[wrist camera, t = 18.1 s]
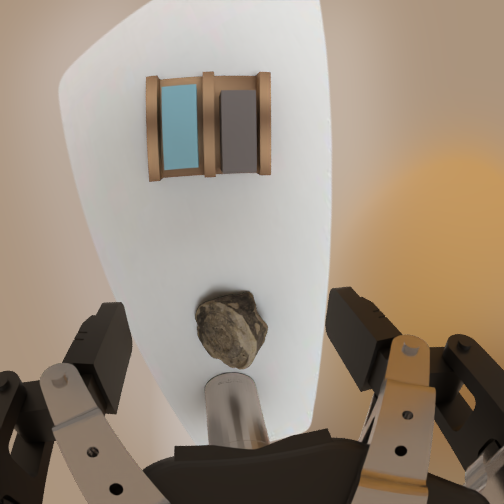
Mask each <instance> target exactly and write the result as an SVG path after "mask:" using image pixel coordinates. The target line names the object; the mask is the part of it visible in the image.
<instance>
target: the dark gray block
mask: <svg viewBox="0 0 504 504" xmlns="http://www.w3.org/2000/svg"><path fill="white" fill-rule="evenodd" d="M219 117H220V161H221V171H222V173H223V174H228V173H254V172H257V133H256V90H221V92H220V95H219Z"/></svg>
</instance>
